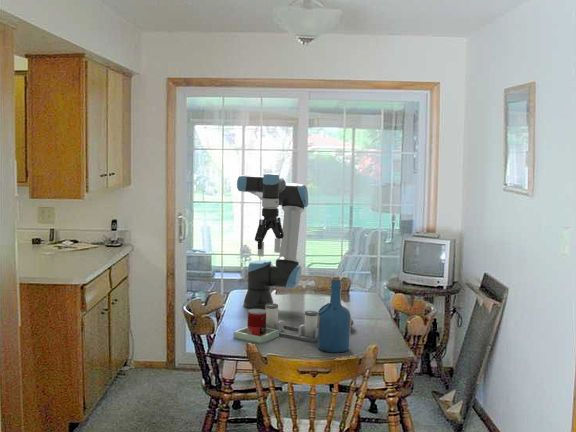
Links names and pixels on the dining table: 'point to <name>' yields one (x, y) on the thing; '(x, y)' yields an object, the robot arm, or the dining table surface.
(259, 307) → the robot arm
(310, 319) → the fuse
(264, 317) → the canned food
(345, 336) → the wine bottle
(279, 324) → the fuse block
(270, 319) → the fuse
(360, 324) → the dining table surface
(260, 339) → the tray
